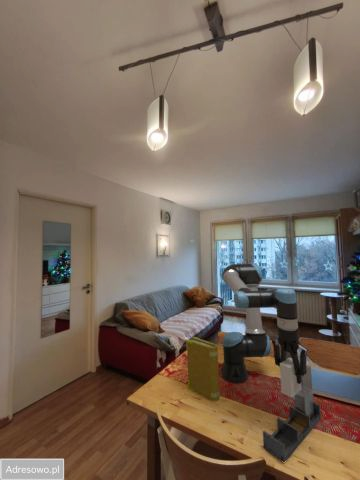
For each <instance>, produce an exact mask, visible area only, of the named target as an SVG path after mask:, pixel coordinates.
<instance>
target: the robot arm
mask: <svg viewBox="0 0 360 480" xmlns="http://www.w3.org/2000/svg"><path fill="white" fill-rule="evenodd" d="M221 275H222V276H221V278H222V280H223V282H224V283H225V284H226V285H228V286H229V288H230V289H231V291H232V292H233V303H234V306H235V308H237V309H244V310H245V316H246V317H245V318H246V319H245V320H246V330H244V334H245V335H244V334H243V333H242V332H240V331H231V332H228V333H225V334H224V335H223V337H222V346H223V347H222V351H223V362H222V365H221V369H220V375H221V377H222V378H223V379H224V380H225V381H226V382H229V383H232V384H233V383H234V384H241V383H245V382H246V381H247V380H248V379H249V373H248V372H249V371H248V370H247V367H246V363H245V358H265V357H266V358H267V357H269V356H270V354H271V351H272V346H273V356H274V364H275V366H278V368H280V363H282V362H283V361H285V360H286V359H287V352H289V353H290V355H291V357H292V360H293V364H294V369H295V374H294V385H295V392H296V393H297V392H298V391H299V390H300V383H301V382H302V377H301V375H302V376H304V375H305V374H306V373H307V370H306V359H307V353H308V349H307V347H303V346H302V345H301V344H300V335H299V321H298V309H297V307H298V305H297V304H298V303H297V302H298V301H297V296H296V291H295V290H294V289H292V288H277V289H273V288H269V289H266V290H259V289H258V288H259V286H260V283H261V282H262V281H263V273H262V269H261V267H260V266H259V265H258V264H257V263H251V262H250V263H232V264H230V265H228V266H226V267H225V268H224V269H223V271H222V273H221ZM261 308H262V309H264V308H274V309H276V322H277V323H276V324H277V338H274V339H272V340H271V338H270V336H269V335H268V334H267V333H266V331H265V330H264V329H263V321H262V313H261ZM298 349H299V352H300V363H299V359H298V353H297V350H298Z"/></svg>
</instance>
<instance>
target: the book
mask: <svg viewBox="0 0 360 480" xmlns="http://www.w3.org/2000/svg"><path fill="white" fill-rule="evenodd" d="M185 344H186V351H187V353H186V354H187V355H186V357H187V358H186V359H187V390H189V391H190V392H192V393H195V394H197V395H199V396H201V397H202V398H204V399H206V400H208V401H210V402H217V401H219V400H220V376H219V375H220V373H219V372H220V371H219V369H220V368H219V352H218V351H219V348H218V344H216V343H214V342H211V341H208V340H204V339H201V338H199V337H196V336H193V337H191V339H187V340H186V343H185Z"/></svg>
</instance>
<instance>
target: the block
mask: <svg viewBox="0 0 360 480" xmlns="http://www.w3.org/2000/svg"><path fill="white" fill-rule="evenodd" d="M299 363H300V362H299ZM279 374H280V375H279V377H280V389H281V390H280V391H281V394H283V395H286V396H288V397H289V398H292V397H293V396H295V394H297V393H298V392H299V391H300V390H301V383H300V390H299V391H298V392H297V393H296V392H295V385H294V374H295V369H294V364H293V360H292V358H290V357H289V358H288V359H287V358H286V360H285V361H283V362H282V363H280V367H279ZM292 399H293V398H292Z"/></svg>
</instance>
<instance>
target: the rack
mask: <svg viewBox="0 0 360 480" xmlns="http://www.w3.org/2000/svg"><path fill="white" fill-rule="evenodd" d="M294 396H295V401H294V405H295V407H293V406H291V405H290V406H289V417H288V418H286V420H283V419H282V418H280V417H277V418H276V421H277V422H276V423H277V428H276V430H274V432H273V433H272V434H270V433H268V432H267V431H266V430H263V431H262V439H263V441H262V442H263V448H264V449H265V450H266V451H267V452H269V453H270V454H271V455H273V457H275V456H276V457H277V459H278V460H279V459H280V460H281V461H280V460H279V461H280V462H282V461H283V462H285V461H286V460H287V459H288V460H289V458H290V457H292V456H293V454H294V453H295V451H296V450H297V449H298V447H299V446H300V445H301V443H302V442H304V441H305V439H306V438H307V436H308V435H309V434H311V431H312V430H313V429H314V428H315V426H317V424H318V423H319V421H320V420H321V419H322V417H321V416H322V415H321V405H320V404H319V403H317V402H315V400H314V389H313V388H312V389H310V388H308V387H306V386H304V385H303V386H301V390H300V391H299V392H298V393H297V394H295V395H294ZM276 457H275V458H276ZM288 460H287V461H288ZM287 461H286V462H287ZM283 462H282V463H283ZM286 462H285V463H286Z"/></svg>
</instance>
